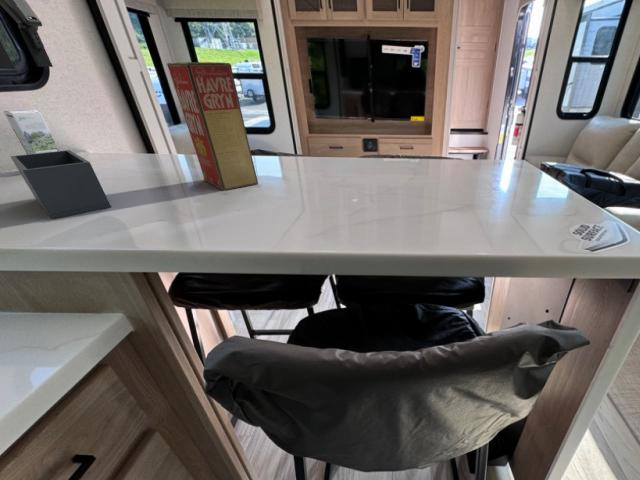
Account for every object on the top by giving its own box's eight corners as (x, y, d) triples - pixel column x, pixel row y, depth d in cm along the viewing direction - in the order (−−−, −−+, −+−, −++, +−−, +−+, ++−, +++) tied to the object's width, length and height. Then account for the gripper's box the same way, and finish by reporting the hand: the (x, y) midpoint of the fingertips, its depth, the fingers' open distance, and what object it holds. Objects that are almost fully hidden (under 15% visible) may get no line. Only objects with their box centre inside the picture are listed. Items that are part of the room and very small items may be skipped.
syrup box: (60, 165, 98) (30, 109, 90) (69, 168, 95) (39, 110, 87) (35, 169, 94) (1, 110, 86) (44, 172, 91) (10, 111, 83)
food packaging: (201, 180, 87) (164, 61, 72) (237, 174, 92) (209, 63, 78) (222, 191, 79) (185, 61, 65) (260, 183, 84) (233, 62, 70)
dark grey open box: (36, 199, 72) (10, 156, 67) (90, 190, 78) (69, 149, 73) (51, 219, 63) (22, 170, 58) (111, 207, 69) (89, 162, 64)
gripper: (24, -64, 66) (80, 67, 78) (-54, -54, 72) (9, 66, 84) (-25, -78, 60) (43, 66, 72) (-106, -66, 66) (-31, 65, 78)
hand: (25, 66), depth 78 cm, fingers open, 13 cm apart
